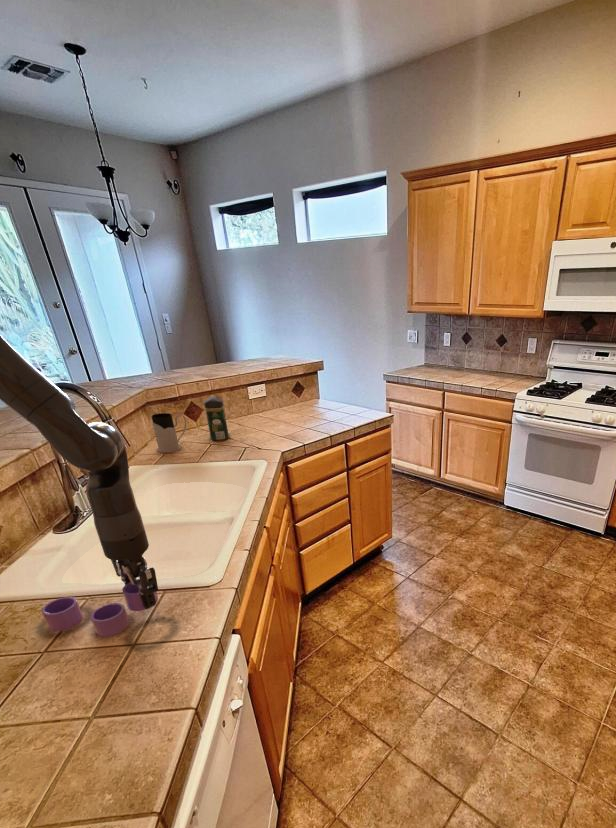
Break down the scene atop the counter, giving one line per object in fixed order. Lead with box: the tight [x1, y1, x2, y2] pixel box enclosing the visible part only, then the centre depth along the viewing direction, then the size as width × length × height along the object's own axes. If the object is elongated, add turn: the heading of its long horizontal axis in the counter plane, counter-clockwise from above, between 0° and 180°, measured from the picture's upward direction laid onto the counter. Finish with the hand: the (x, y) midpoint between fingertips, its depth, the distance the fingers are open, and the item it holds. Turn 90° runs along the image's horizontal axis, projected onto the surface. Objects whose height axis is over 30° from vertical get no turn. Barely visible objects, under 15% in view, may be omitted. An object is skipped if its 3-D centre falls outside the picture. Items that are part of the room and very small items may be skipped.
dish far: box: [121, 578, 159, 612], centre depth 89 cm, size 6×6×4 cm
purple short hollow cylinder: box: [41, 596, 84, 632], centre depth 85 cm, size 6×6×4 cm
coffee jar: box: [203, 396, 230, 442], centre depth 196 cm, size 10×8×19 cm
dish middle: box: [90, 602, 130, 637], centre depth 85 cm, size 6×6×4 cm
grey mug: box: [150, 412, 187, 453], centre depth 182 cm, size 9×14×15 cm, turn 146°
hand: (142, 600), depth 89 cm, fingers closed on dish far, 5 cm apart
